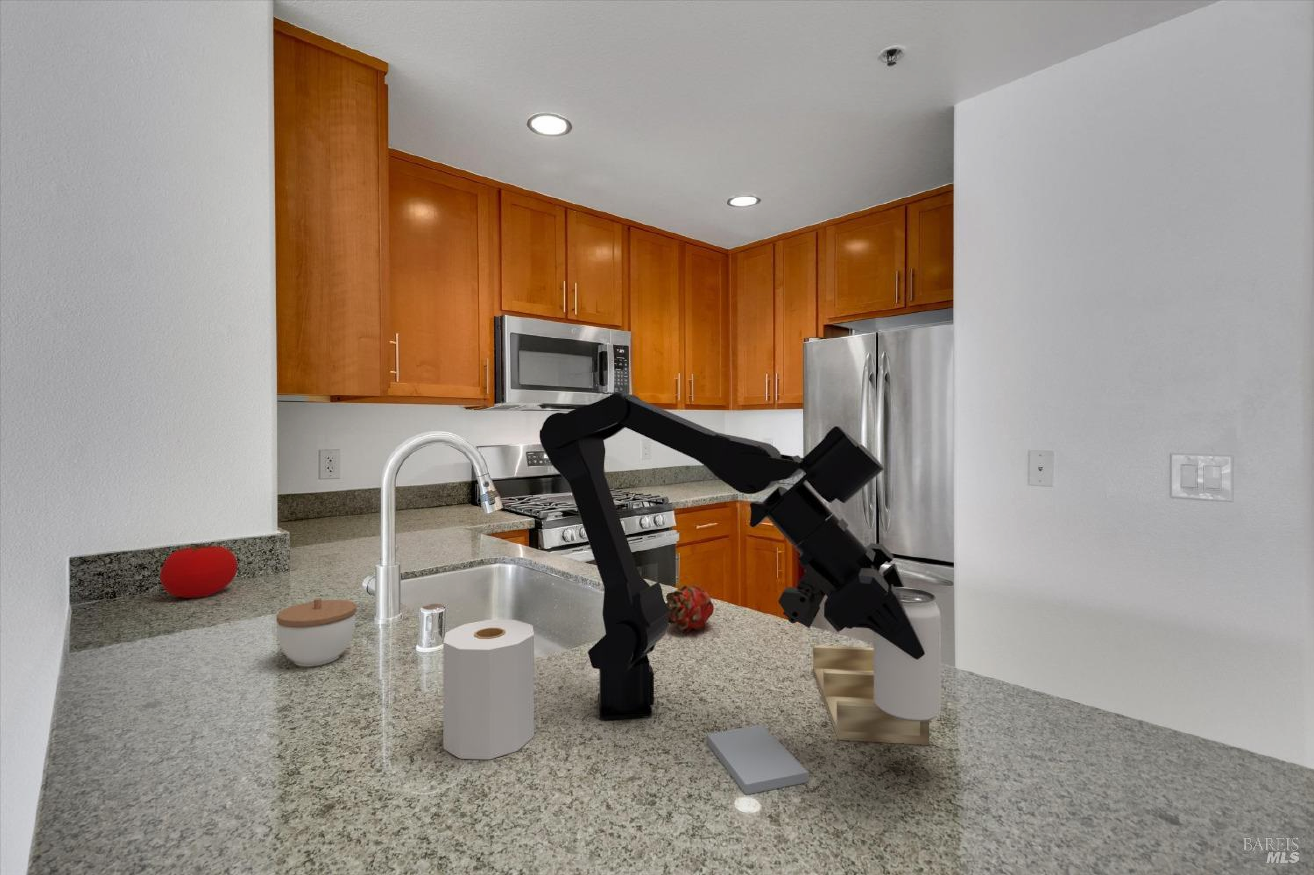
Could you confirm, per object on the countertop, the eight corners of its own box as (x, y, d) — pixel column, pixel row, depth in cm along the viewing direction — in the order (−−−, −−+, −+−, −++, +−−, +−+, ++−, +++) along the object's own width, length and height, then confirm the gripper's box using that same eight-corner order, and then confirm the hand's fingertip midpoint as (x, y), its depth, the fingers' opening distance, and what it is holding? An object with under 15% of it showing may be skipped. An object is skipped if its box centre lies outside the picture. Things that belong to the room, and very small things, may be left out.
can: (950, 725, 57) (949, 603, 57) (881, 721, 58) (880, 601, 58) (929, 696, 64) (929, 586, 64) (868, 692, 65) (867, 585, 65)
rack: (838, 739, 67) (838, 705, 67) (812, 672, 86) (812, 645, 86) (929, 745, 66) (929, 709, 66) (883, 675, 85) (883, 648, 85)
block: (745, 794, 57) (745, 784, 57) (706, 742, 66) (706, 733, 66) (808, 781, 59) (808, 772, 59) (761, 733, 68) (761, 724, 68)
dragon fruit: (670, 648, 99) (695, 637, 110) (710, 624, 97) (731, 614, 108) (646, 603, 102) (673, 596, 113) (684, 578, 100) (708, 573, 111)
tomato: (145, 602, 120) (145, 549, 120) (204, 585, 133) (204, 537, 133) (194, 605, 118) (194, 551, 118) (249, 588, 131) (249, 539, 131)
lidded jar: (259, 666, 88) (259, 604, 87) (324, 642, 97) (324, 586, 97) (310, 678, 84) (309, 612, 83) (372, 652, 93) (371, 593, 93)
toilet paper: (535, 711, 74) (535, 616, 74) (532, 756, 63) (532, 646, 63) (451, 718, 72) (451, 620, 72) (434, 765, 62) (434, 651, 62)
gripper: (779, 559, 76) (867, 658, 72) (741, 596, 59) (853, 729, 54) (844, 503, 73) (940, 603, 68) (822, 525, 55) (949, 660, 51)
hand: (920, 645), depth 61 cm, fingers closed on can, 6 cm apart
